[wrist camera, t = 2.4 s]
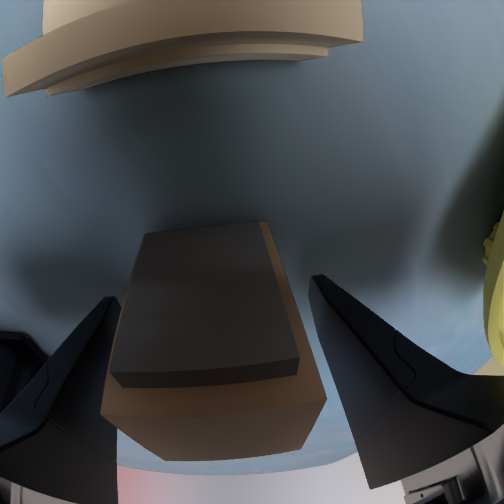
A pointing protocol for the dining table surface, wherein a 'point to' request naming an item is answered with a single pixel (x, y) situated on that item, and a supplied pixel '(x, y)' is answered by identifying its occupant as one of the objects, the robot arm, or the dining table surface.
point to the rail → (171, 38)
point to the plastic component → (494, 291)
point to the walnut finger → (212, 349)
